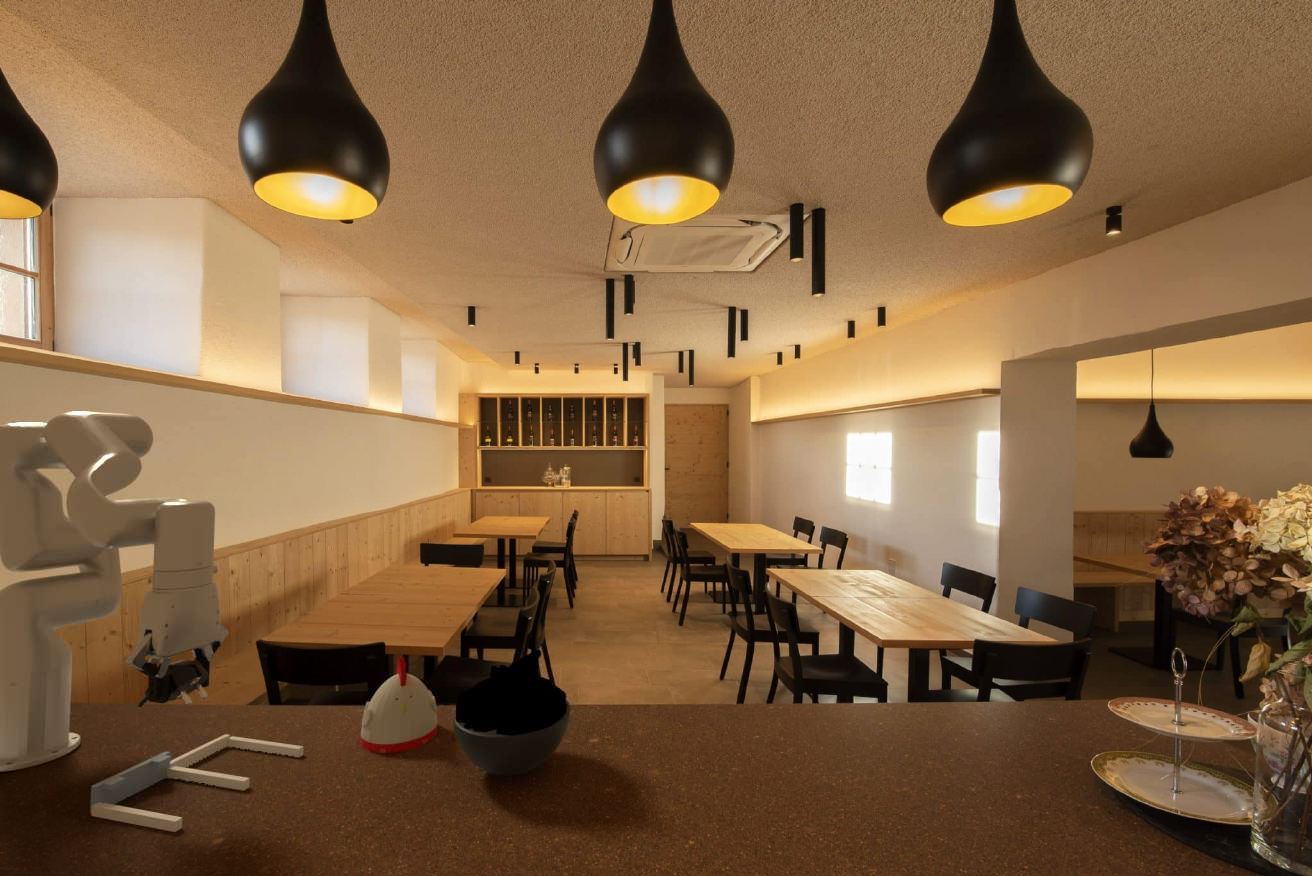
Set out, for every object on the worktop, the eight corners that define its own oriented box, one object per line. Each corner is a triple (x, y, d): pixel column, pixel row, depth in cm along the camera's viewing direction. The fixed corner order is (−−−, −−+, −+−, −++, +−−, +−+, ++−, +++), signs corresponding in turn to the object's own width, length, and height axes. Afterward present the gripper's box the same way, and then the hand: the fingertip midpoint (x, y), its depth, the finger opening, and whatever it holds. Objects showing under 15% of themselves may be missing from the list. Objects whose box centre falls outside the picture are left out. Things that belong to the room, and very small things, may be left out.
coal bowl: (481, 817, 90) (483, 691, 91) (435, 763, 106) (437, 656, 106) (591, 773, 103) (593, 663, 104) (536, 731, 118) (537, 636, 119)
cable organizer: (86, 814, 90) (87, 788, 90) (227, 743, 112) (228, 722, 112) (175, 832, 86) (175, 804, 86) (303, 754, 108) (303, 732, 108)
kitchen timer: (362, 760, 107) (364, 675, 107) (357, 729, 119) (359, 653, 119) (443, 742, 114) (445, 663, 114) (431, 714, 126) (432, 643, 126)
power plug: (155, 694, 98) (200, 646, 97) (179, 731, 97) (226, 683, 96) (118, 708, 93) (165, 657, 91) (143, 747, 91) (192, 696, 90)
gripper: (215, 567, 104) (212, 672, 103) (104, 589, 87) (99, 714, 87) (251, 570, 102) (247, 676, 102) (144, 592, 85) (139, 719, 85)
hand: (179, 692), depth 94 cm, fingers closed on power plug, 5 cm apart
